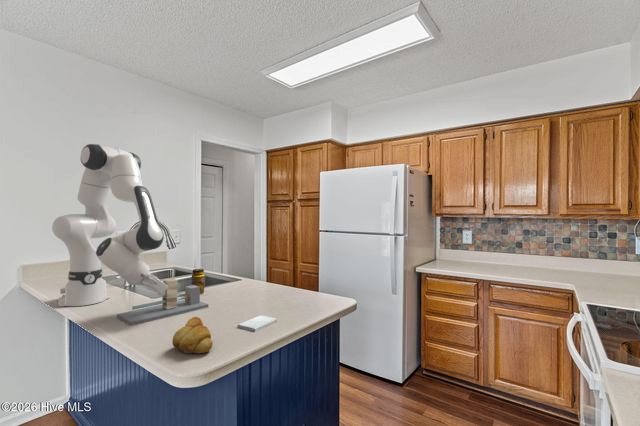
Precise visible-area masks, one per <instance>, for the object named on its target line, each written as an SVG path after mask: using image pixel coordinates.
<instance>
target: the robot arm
mask: <svg viewBox="0 0 640 426" xmlns="http://www.w3.org/2000/svg"><path fill="white" fill-rule="evenodd" d="M80 163H81V165H82V166H83V167H85V168H84V171H83V173H82V178H81V180H80V185H79V189H78V194H77V200H78V202H79V203H80V204H81V205H83V206H84V208H85V213H84V214H83V213H81V214H80V213H77V214H76V213H74V214H72V213H70V214H66V215H61V216H58V217H56V218H55V219H54V220H53V222H52V228H51V230H52V232H53V235H54V236H55V237H56V238H57V239H59V240H61V241H62V242H63V244H65V247H66V248H67V250H68V254H69V271H68V275H67V279H68V281H67V282H66V284H65V287H62V288H60V292H59V294H60V295H62V296H60V297H58V302H57V303H58V305H57V307H82V306H88V305H90V306H91V305H94V304H99V303H101V302H104V301H106V300H108V299H110V298H111V295H109V294H107V283H106V282H107V281H106V280H105V279H103V269H102V264H103V265H104V266H105V267H106V268H108V269H109V270H110V271H112V272H115V273H117V274H118V276H119V277H120V278H121V279H122V280H124V282H126V283H128V285H130V286H135V285H137V286H139V287H141V288H142V289H143V288H144V289H147V290H149V291H151V292H153V293H156V294H158V295H159V296H161V297H162V296H164V295H165V294H166V292H165V291H166V290H167V289H168V286H167V285H166V284H164V283H163V280H160V279H159V278H158V277H157V276H155V275H153V274H151V267H150V266H149V265H148V264H147V263H146V262H144V261H143V259H141V258H140V257H139V255H140V254H142V253H145V252H148V251H151V250H157V249H158V248H160V247H161V246H162V244H163V242H164V237H165V236H164V232H163V229H162V227H161V225H160V223H159V219H158V216H157V213H156V210H155V206H154V202H153V199H152V196H151V193H150V191H149V190H148V189H147V187H145V186H144V184H143V181H142V175H141V173H142V172H141V166H142V162H141V158H140V157H139V155H138V154H135V153H133V152H130V151H127V150H123V149H120V148H116V147H111V146H106V145H105V146H104V145H100V144H96V143H93V144H92V143H89V144H86V145H85V146H83V148H82V150H81V153H80ZM110 194H112V195H113V196H114V197H115V198H116V199H117V200H119V201H122V202H125V203H126V202H127V203H134V205H135V208H136V211H137V215H138V220H139V223H138V226H137V227H135V228H133V229H132V228H131V229H130V230H127V231H125V232H123V233H121V234H119V235H117V236H112V237H108V236H111V235H113V234H114V232H116V229H117V228H116V227H117V223H116V220H115V218H113V217H112V215H111V213H110V211H109V198H110ZM105 237H108V238H105ZM99 238H105V239H104V240H103V241H101V243H100V244H99V245H98V246H97V247H95V246H94V245H93V244H92V241H91V239H99Z"/></svg>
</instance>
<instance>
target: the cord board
mask: <svg viewBox="0 0 640 426" xmlns="http://www.w3.org/2000/svg"><path fill="white" fill-rule="evenodd" d="M184 287H185V288H184V295H183V296H177V307H176V308H171V309H165V308H163V307H162V304H163V303H166V300H158V301H154V302H153V301H152V302H148V303H142V304H138V305H134V306H133V305H132V307H131V309H132V310H129V311H125V312H120V313H117V314H116V318H118V319H119V320H121V321H122V322H124V323H125V324H127V325H128V326H130V327H132V326H136V325H140V324H144V323H148V322H153V321H157V320H160V319H165V318H170V317H172V316H179V315H181V314H186V313H189V312H194V311H197V310H198V311H199V310H202V309H207V308H209V303H207V302H203V301H200V300H201V299H200V298H201V297H200V296H201V295H200V287H199V286H195V285H192V284H191V285H187V286H184Z"/></svg>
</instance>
